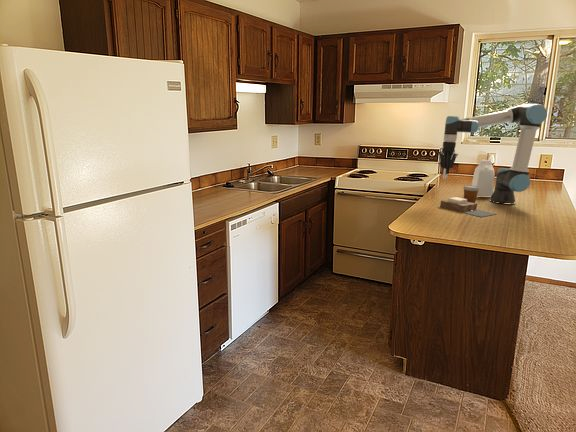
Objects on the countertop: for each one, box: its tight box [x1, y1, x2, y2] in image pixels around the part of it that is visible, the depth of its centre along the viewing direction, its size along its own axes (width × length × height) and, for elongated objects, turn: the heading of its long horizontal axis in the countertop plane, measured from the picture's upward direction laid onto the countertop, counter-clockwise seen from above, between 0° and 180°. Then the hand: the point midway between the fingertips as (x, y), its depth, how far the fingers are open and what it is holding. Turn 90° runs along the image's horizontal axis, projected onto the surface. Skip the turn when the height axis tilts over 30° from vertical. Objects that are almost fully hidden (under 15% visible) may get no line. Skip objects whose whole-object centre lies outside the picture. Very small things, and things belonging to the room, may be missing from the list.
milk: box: [471, 159, 496, 196], centre depth 306 cm, size 12×12×26 cm
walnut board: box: [439, 199, 478, 213], centre depth 267 cm, size 14×16×4 cm
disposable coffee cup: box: [463, 184, 479, 203], centre depth 278 cm, size 10×10×12 cm
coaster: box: [447, 196, 467, 204], centre depth 267 cm, size 8×8×2 cm
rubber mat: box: [462, 209, 496, 218], centre depth 255 cm, size 15×12×1 cm
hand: (444, 178), depth 273 cm, fingers closed
